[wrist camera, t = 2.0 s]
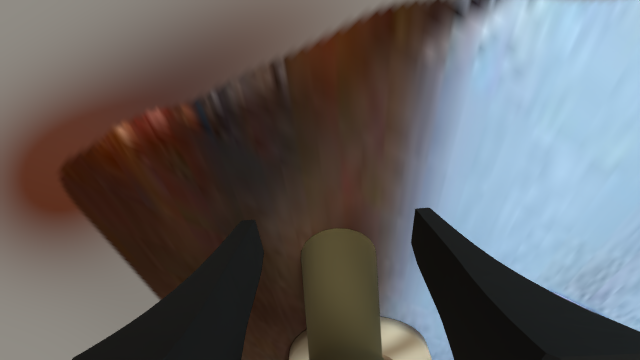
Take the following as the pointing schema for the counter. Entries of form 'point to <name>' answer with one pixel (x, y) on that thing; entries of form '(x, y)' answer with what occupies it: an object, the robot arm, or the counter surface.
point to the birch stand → (397, 343)
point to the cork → (341, 296)
